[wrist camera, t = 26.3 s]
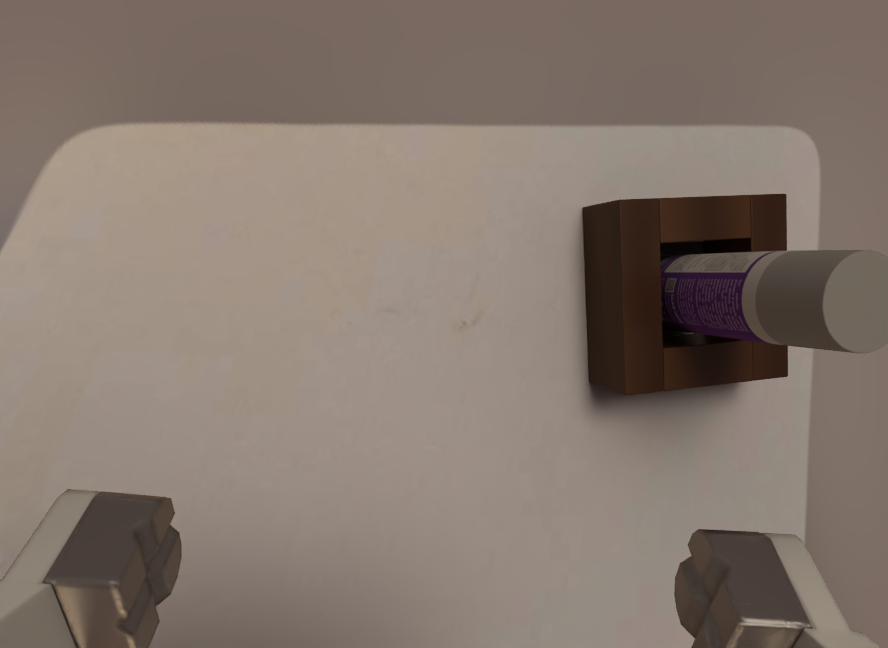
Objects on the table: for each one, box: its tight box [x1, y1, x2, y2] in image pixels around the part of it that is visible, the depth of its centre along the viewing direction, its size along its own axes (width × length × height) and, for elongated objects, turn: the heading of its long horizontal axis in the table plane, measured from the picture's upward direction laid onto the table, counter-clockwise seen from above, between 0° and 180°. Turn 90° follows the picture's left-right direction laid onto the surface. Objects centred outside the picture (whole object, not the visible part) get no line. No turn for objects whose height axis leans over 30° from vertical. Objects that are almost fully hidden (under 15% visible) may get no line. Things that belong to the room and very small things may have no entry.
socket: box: [583, 194, 788, 395], centre depth 41 cm, size 11×11×4 cm
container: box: [660, 250, 888, 353], centre depth 36 cm, size 5×5×15 cm
